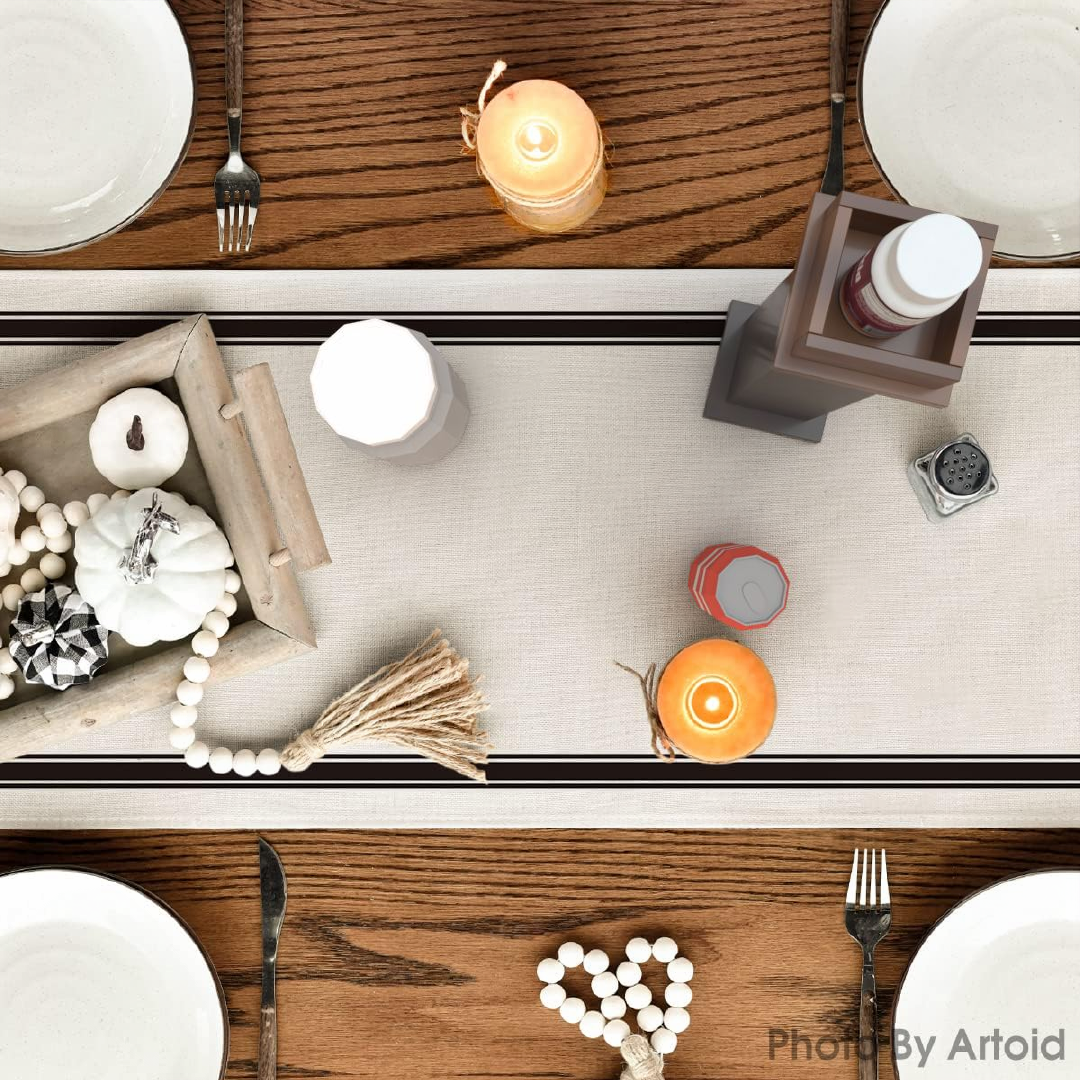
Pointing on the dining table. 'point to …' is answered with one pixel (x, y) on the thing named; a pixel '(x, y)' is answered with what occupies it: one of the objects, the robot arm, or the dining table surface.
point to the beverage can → (739, 585)
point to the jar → (389, 393)
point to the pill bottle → (911, 275)
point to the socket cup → (841, 351)
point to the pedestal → (767, 377)
